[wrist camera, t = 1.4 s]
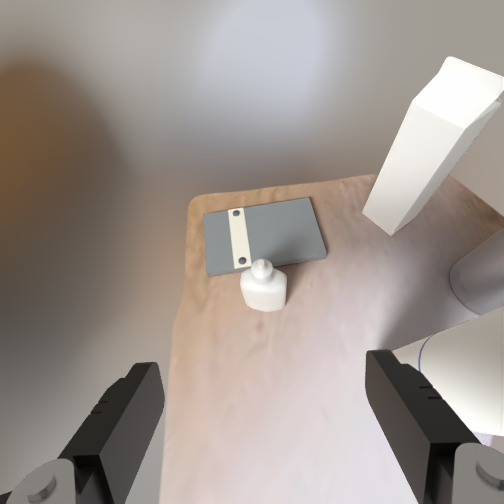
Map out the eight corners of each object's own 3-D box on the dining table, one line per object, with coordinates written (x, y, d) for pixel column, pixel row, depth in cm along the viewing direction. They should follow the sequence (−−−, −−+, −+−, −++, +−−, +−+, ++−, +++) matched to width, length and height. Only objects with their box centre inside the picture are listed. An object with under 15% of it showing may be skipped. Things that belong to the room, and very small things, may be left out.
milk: (390, 236, 41) (489, 95, 22) (360, 212, 44) (425, 67, 24) (416, 216, 42) (532, 66, 23) (386, 194, 45) (467, 43, 26)
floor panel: (308, 203, 45) (309, 196, 44) (325, 258, 40) (327, 253, 38) (205, 219, 46) (203, 213, 44) (208, 277, 40) (206, 272, 39)
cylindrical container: (428, 358, 32) (751, 275, 10) (437, 426, 29) (939, 514, 7) (367, 348, 33) (545, 252, 12) (369, 412, 30) (624, 451, 8)
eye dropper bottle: (258, 278, 39) (251, 235, 29) (290, 298, 37) (295, 259, 27) (241, 301, 38) (227, 265, 27) (273, 323, 36) (272, 293, 25)
